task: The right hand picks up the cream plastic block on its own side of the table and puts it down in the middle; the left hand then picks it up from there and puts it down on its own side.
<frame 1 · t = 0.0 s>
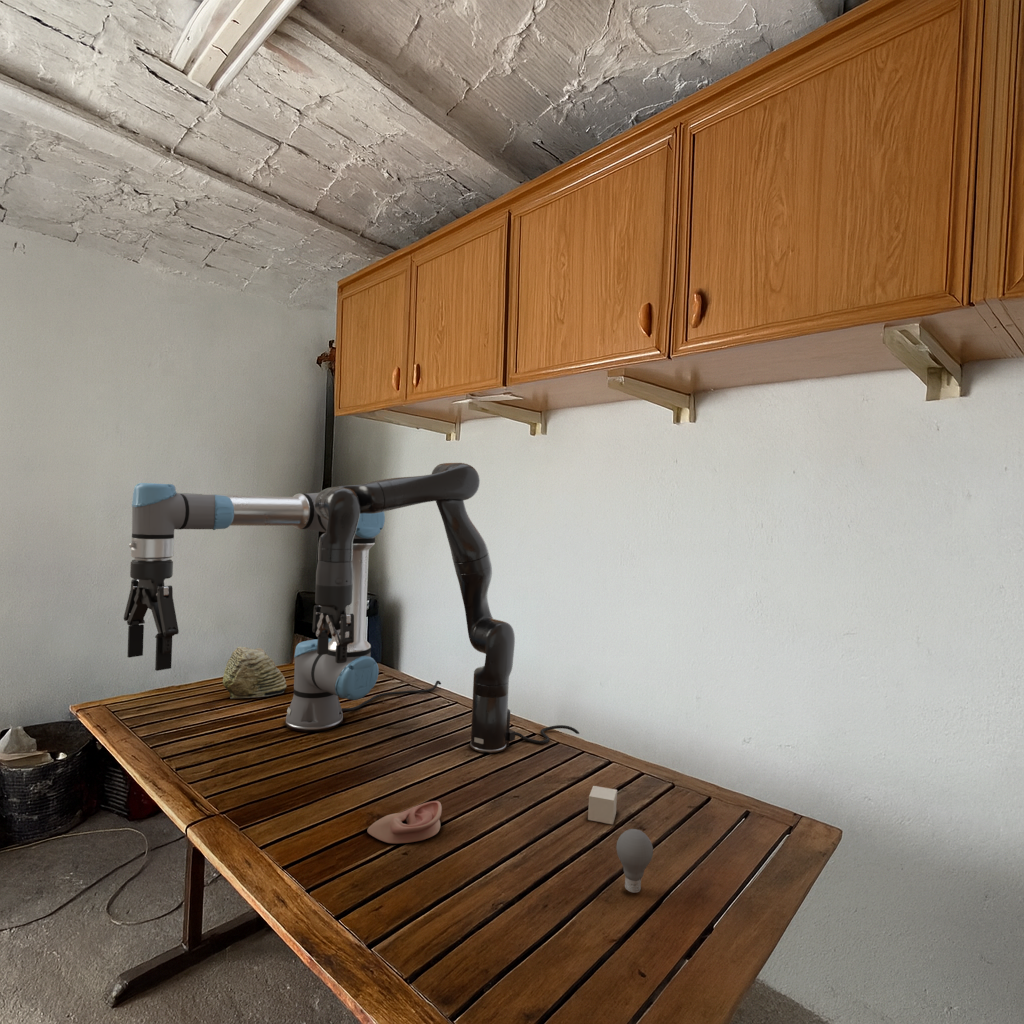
left hand: (148, 662, 129), 28 cm above the table, tool pointing down, fingers open, 13 cm apart
right hand: (331, 658, 134), 29 cm above the table, tool pointing down, fingers open, 8 cm apart
light bulb: (632, 891, 106), on the table
anatomical model: (404, 829, 122), on the table
block: (602, 816, 131), on the table
fossil: (254, 694, 198), on the table
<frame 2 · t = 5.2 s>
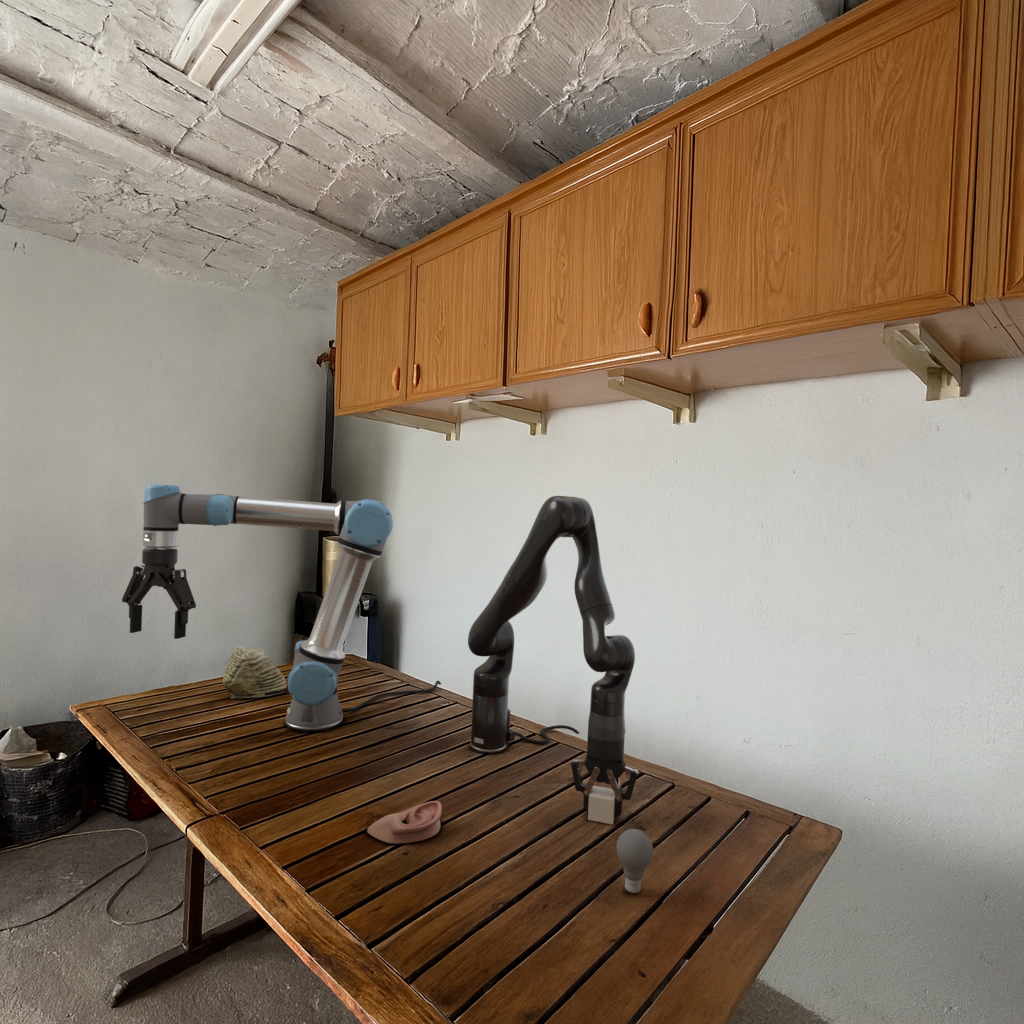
left hand: (157, 634, 154), 28 cm above the table, tool pointing down, fingers open, 13 cm apart
right hand: (602, 813, 131), 1 cm above the table, tool pointing down, fingers closed on block, 5 cm apart
block: (602, 816, 131), on the table, touching right hand
everything else where it was.
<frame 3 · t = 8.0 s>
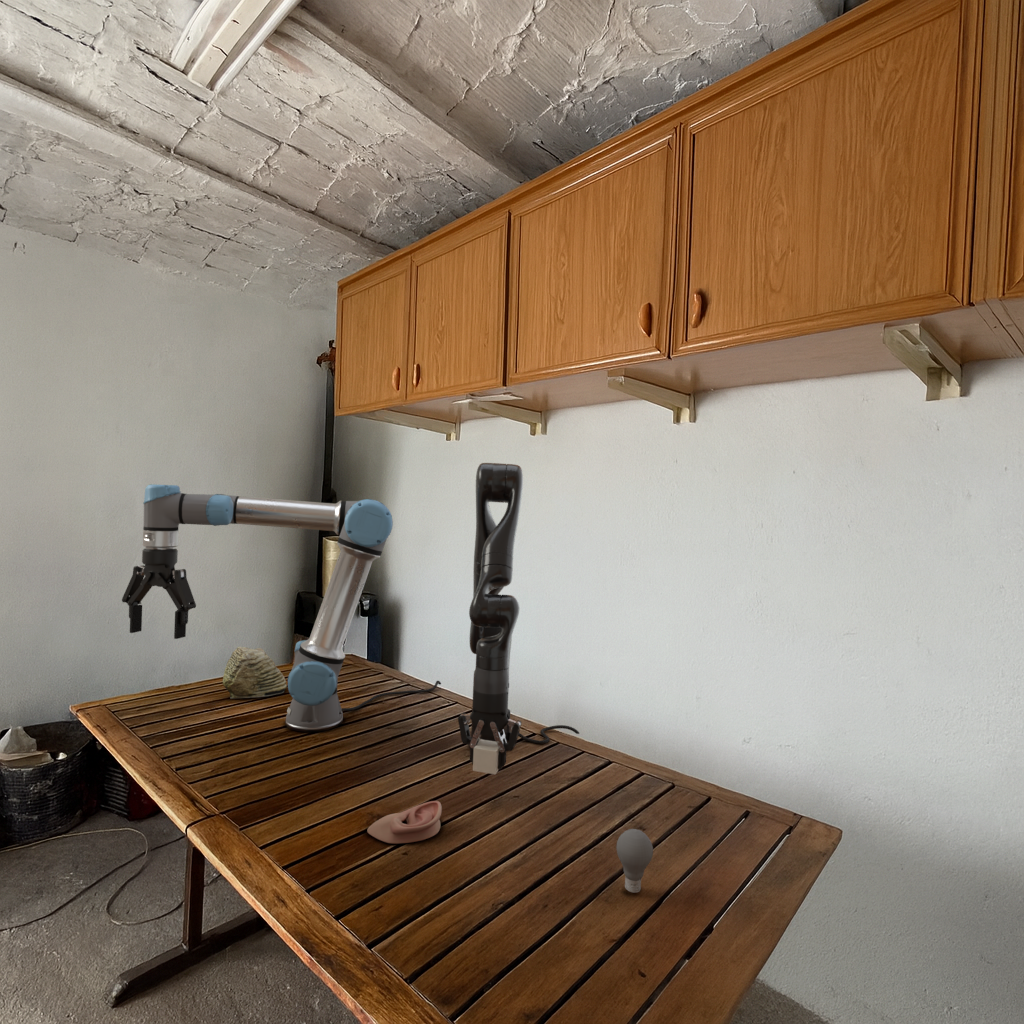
left hand: (157, 634, 154), 28 cm above the table, tool pointing down, fingers open, 13 cm apart
right hand: (487, 765, 136), 7 cm above the table, tool pointing down, fingers closed on block, 5 cm apart
block: (487, 767, 136), point 7 cm above the table, touching right hand
everything else where it was.
when the right hand's fingers open (1 cm above the table, at t = 11.1 s): block stays where it is, on the table.
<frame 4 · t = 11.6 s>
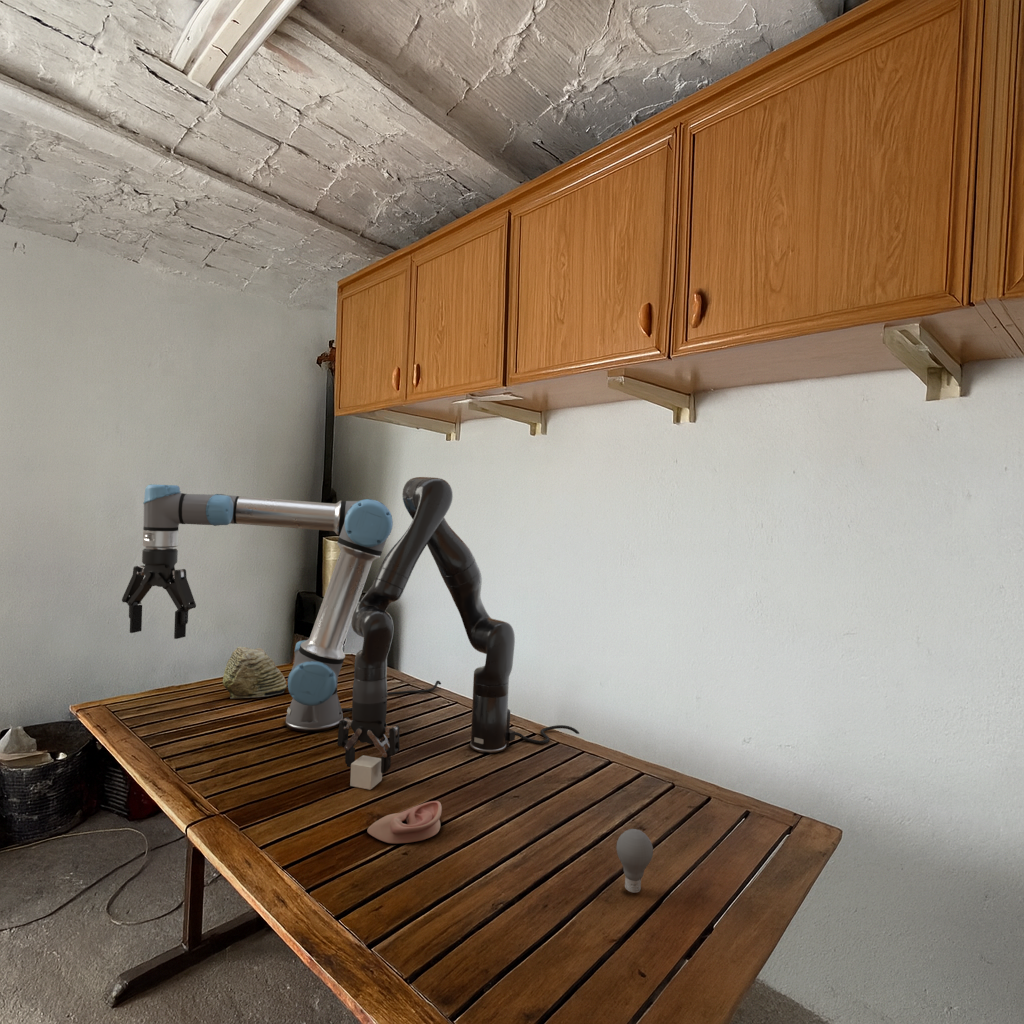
left hand: (157, 634, 154), 28 cm above the table, tool pointing down, fingers open, 13 cm apart
right hand: (367, 768, 141), 3 cm above the table, tool pointing down, fingers open, 8 cm apart
block: (366, 783, 141), on the table
everything else where it was.
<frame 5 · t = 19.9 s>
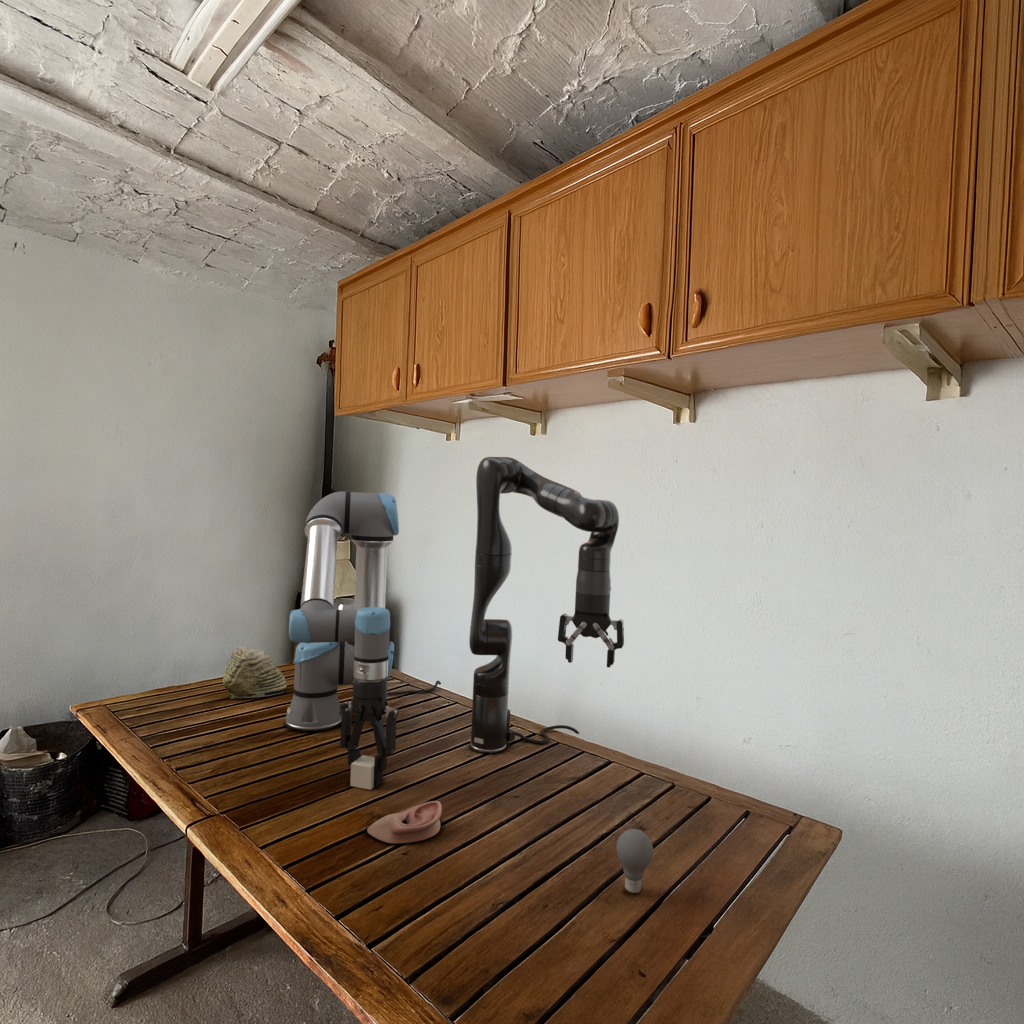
left hand: (366, 781, 141), 0 cm above the table, tool pointing down, fingers closed on block, 5 cm apart
right hand: (589, 664, 139), 29 cm above the table, tool pointing down, fingers open, 8 cm apart
block: (366, 783, 141), on the table, touching left hand
everything else where it was.
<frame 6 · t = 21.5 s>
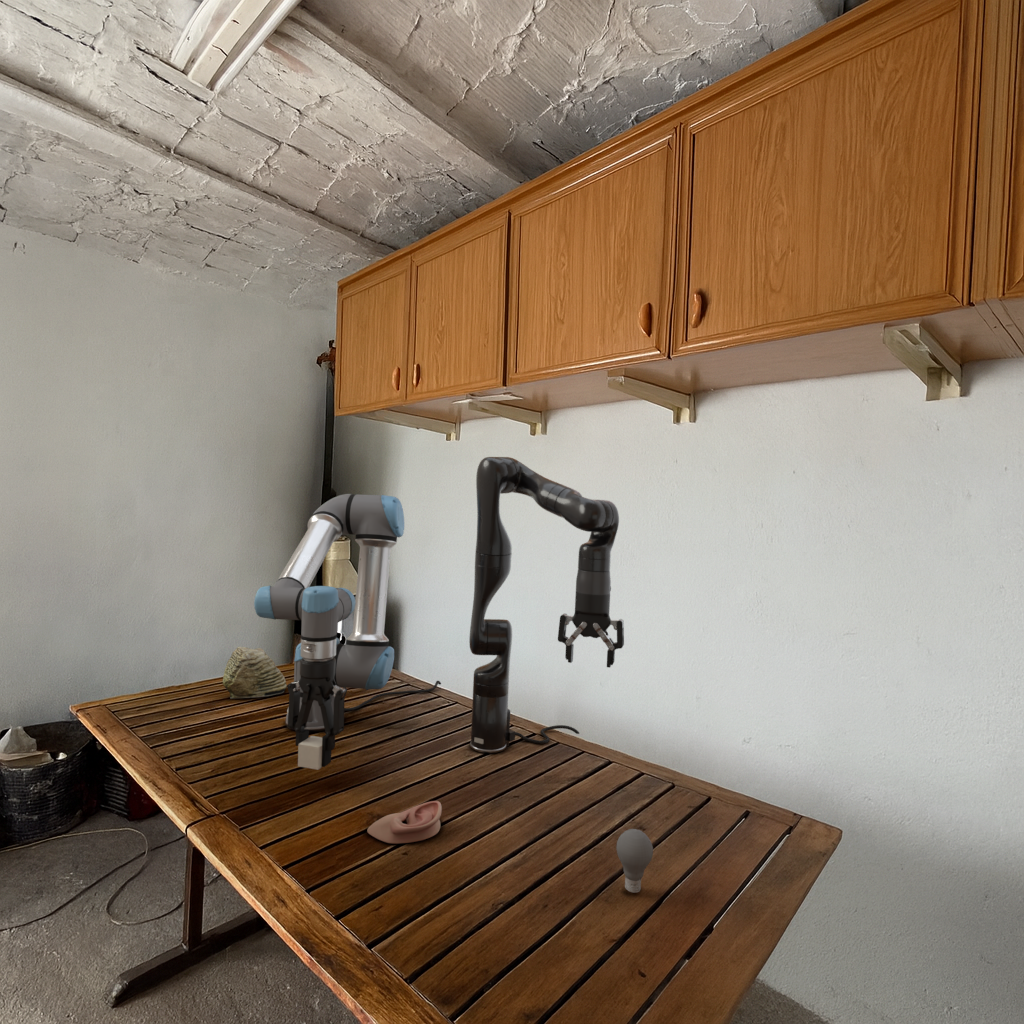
left hand: (314, 762, 140), 5 cm above the table, tool pointing down, fingers closed on block, 5 cm apart
right hand: (589, 664, 139), 29 cm above the table, tool pointing down, fingers open, 8 cm apart
block: (314, 763, 140), point 4 cm above the table, touching left hand
everything else where it was.
when the left hand's fingers open (1 cm above the table, at t = 23.3 s): block stays where it is, on the table.
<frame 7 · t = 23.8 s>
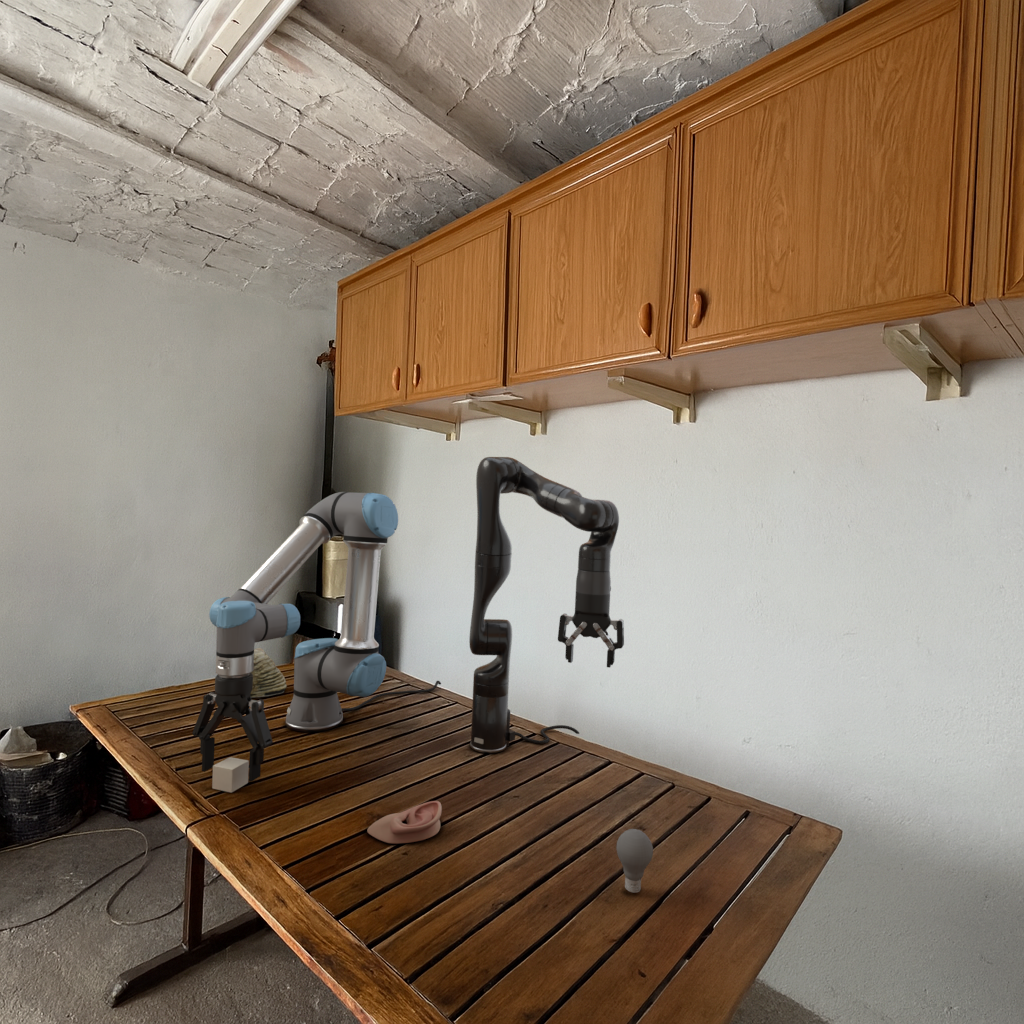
left hand: (230, 773, 137), 3 cm above the table, tool pointing down, fingers open, 11 cm apart
right hand: (589, 664, 139), 29 cm above the table, tool pointing down, fingers open, 8 cm apart
block: (230, 785, 137), on the table
everything else where it was.
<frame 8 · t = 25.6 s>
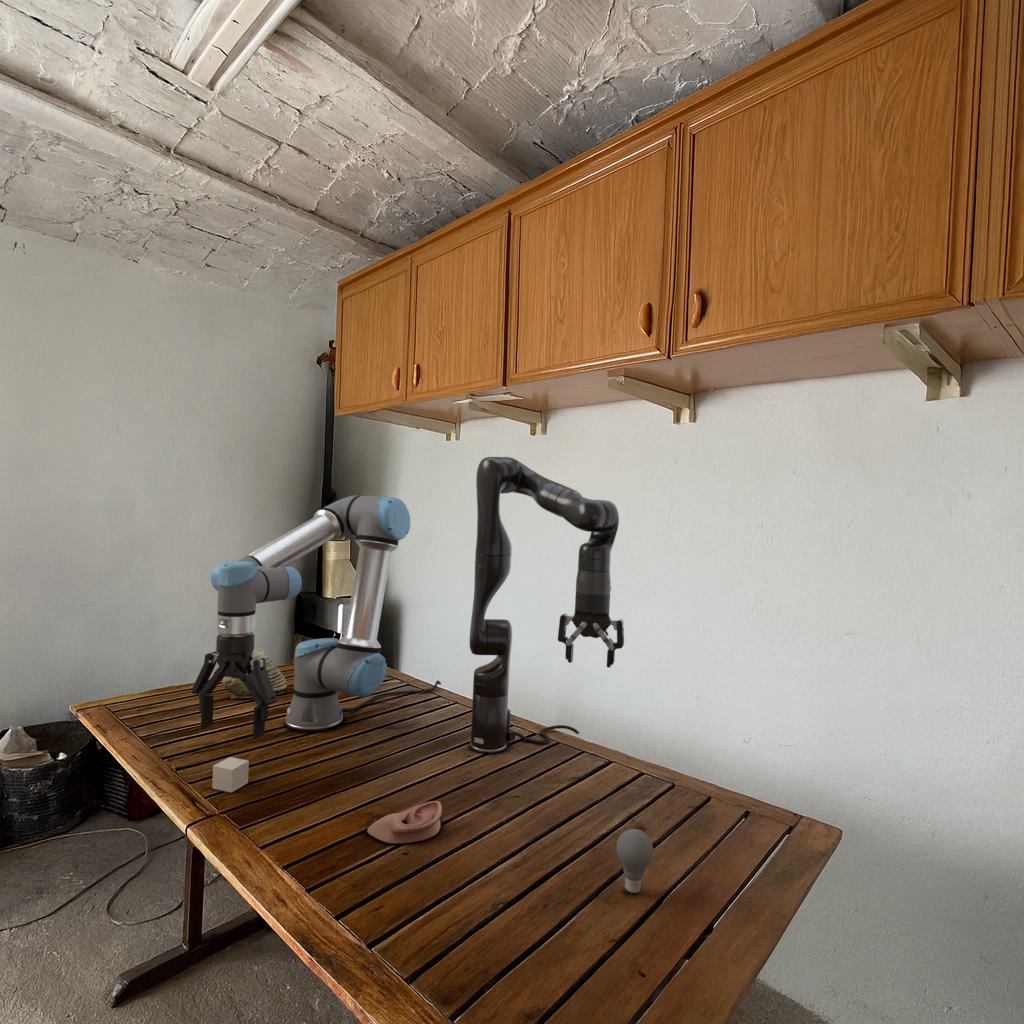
left hand: (232, 731, 137), 12 cm above the table, tool pointing down, fingers open, 13 cm apart
right hand: (589, 664, 139), 29 cm above the table, tool pointing down, fingers open, 8 cm apart
nothing on the table moved.
at the end: block inside the target area (0.0 cm from its centre), on the table; block tilted 0°; the two hands never held the block at the same time; the left hand is holding nothing; the right hand is holding nothing; block at rest at the end (0.0 cm/s) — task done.
